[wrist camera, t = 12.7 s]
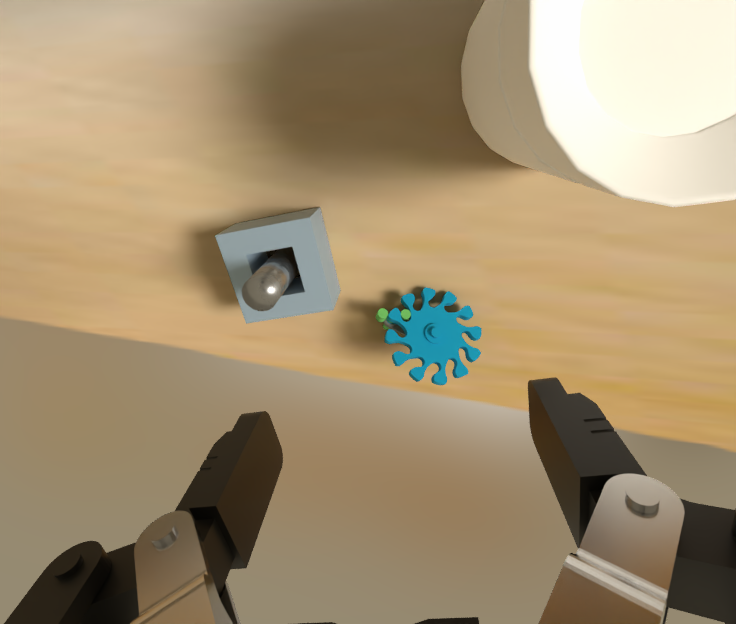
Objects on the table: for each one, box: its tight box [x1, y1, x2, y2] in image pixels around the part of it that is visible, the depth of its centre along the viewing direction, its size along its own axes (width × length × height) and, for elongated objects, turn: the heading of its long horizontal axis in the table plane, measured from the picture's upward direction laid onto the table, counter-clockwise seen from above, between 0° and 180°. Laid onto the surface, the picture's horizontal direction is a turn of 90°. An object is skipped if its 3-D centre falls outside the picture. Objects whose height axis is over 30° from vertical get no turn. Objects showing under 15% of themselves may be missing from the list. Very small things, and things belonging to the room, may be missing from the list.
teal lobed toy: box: [376, 288, 481, 385], centre depth 42 cm, size 11×6×10 cm
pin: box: [242, 247, 299, 311], centre depth 38 cm, size 3×3×10 cm
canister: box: [461, 0, 736, 207], centre depth 24 cm, size 16×16×20 cm
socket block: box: [215, 207, 341, 323], centre depth 40 cm, size 9×9×5 cm
